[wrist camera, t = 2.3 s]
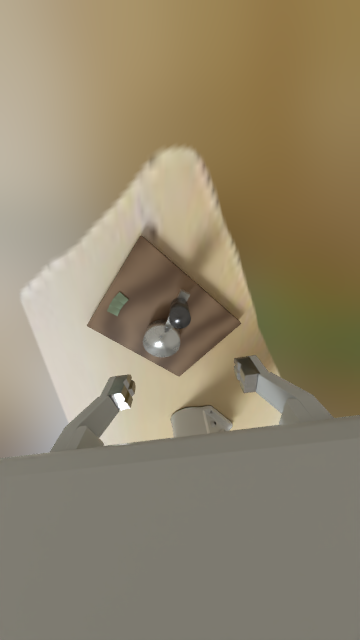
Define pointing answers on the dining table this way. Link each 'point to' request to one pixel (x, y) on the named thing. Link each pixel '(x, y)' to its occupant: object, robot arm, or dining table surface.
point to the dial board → (159, 308)
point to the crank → (168, 328)
